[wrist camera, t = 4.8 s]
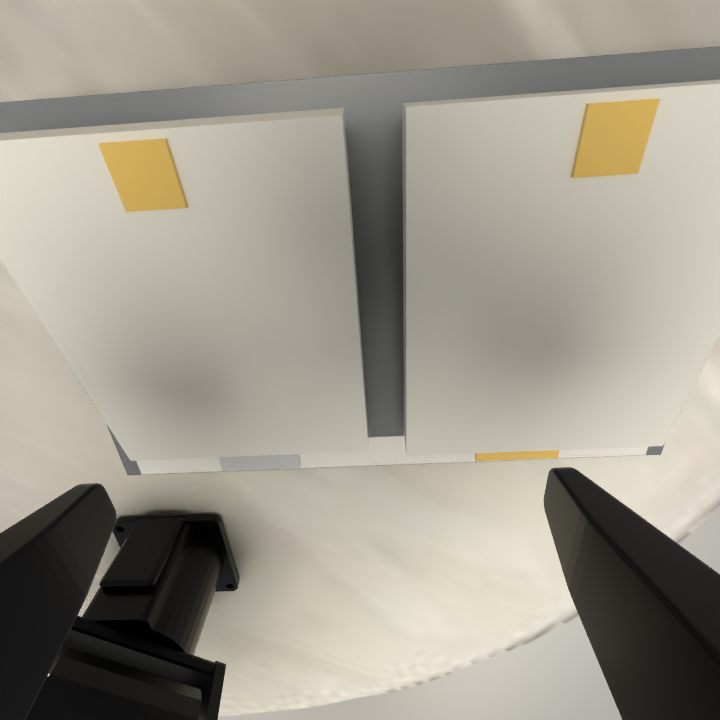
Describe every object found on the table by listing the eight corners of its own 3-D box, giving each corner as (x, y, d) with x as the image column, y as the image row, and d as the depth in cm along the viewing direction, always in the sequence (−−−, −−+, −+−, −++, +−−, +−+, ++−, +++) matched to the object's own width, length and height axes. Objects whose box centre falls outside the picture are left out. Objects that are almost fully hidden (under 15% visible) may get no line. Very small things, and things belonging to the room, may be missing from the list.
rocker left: (368, 429, 18) (368, 454, 17) (142, 438, 18) (129, 463, 17) (343, 107, 11) (341, 116, 9) (-36, 135, 11) (-79, 147, 10)
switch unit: (624, 415, 21) (675, 469, 18) (156, 436, 22) (116, 490, 19) (721, 59, 15) (836, 31, 11) (41, 111, 16) (-55, 101, 12)
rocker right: (645, 424, 17) (665, 448, 16) (403, 434, 18) (406, 458, 17) (805, 73, 10) (857, 73, 9) (402, 103, 11) (406, 107, 10)
